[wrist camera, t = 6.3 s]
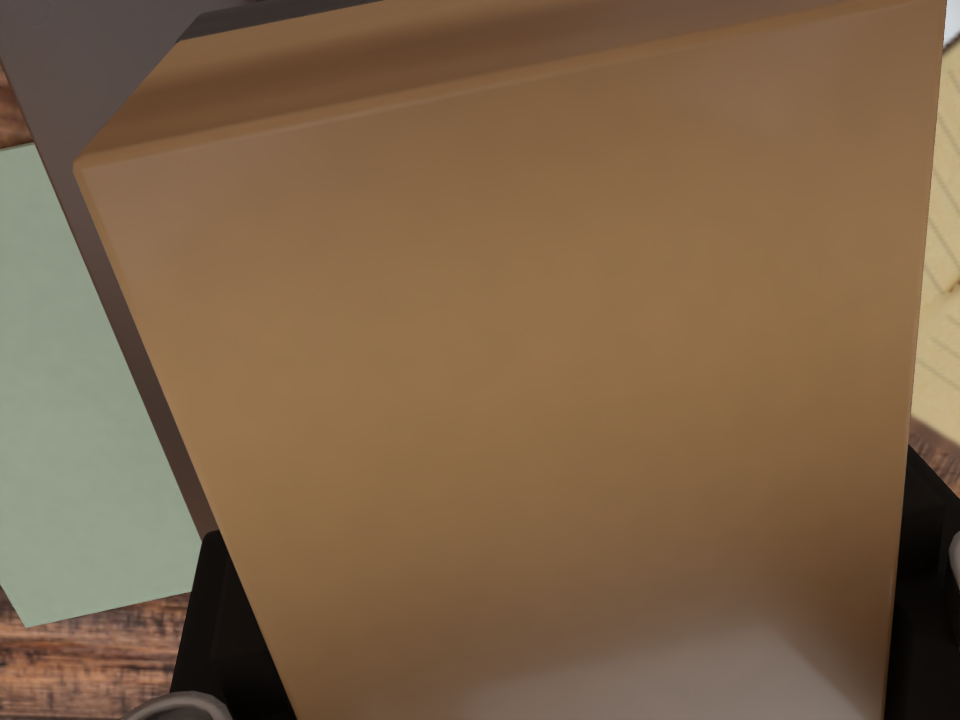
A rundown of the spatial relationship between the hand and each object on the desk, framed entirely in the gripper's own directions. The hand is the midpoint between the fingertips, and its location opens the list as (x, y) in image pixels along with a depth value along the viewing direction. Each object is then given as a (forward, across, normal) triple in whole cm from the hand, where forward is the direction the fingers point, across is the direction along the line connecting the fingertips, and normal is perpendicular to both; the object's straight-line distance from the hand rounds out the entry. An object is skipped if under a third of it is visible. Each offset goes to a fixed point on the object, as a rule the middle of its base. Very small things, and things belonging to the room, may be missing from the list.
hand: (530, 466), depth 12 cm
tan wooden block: (+1, 0, 0) cm, 1 cm away
